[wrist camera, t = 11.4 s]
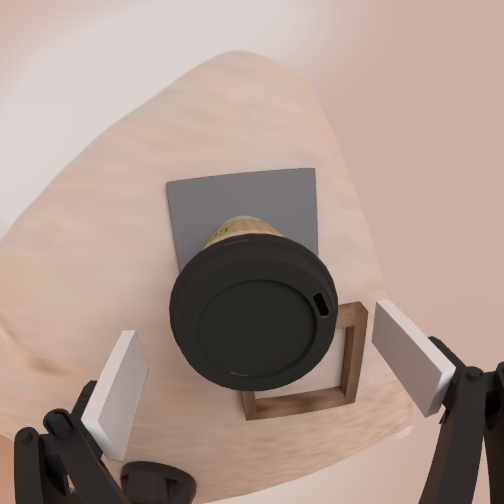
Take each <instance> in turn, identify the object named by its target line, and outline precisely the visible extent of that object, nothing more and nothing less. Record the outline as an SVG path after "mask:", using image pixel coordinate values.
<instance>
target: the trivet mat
mask: <svg viewBox="0 0 504 504" xmlns="http://www.w3.org/2000/svg"><path fill="white" fill-rule="evenodd" d="M166 185H167V193H168V200H169V207H170V214H171V221H172V228H173V234H174V240H175V246H176V252H177V258H178V264H179V269H180V273H181V271H182V270H183V268H184V267H185V265H186V264H187V263H188V262H189V261H190V260H191V259H192V258H193V257H194V256H195V255H196V254H197V253H199V252H200V251H201V250H202V249H203V247H204V246H205V244H206V243H207V242H208V240H209V239H210V237H211V236H212V234H213V233H214V232H215V231H216V230H217V229H218V228H219V227H220V226H221V225H222V224H223V223H224V222H226V221H227V220H229V219H231V218H234V217H237V216H251V217H255V218H257V219H260V220H261V221H263V222H265V223H267V224H269V225H270V226H271V227H273V228H274V229H276V230H277V231H278V232H280V233H281V234H282V235H284V236H285V237H286V238H288V239H291V240H293V241H295V242H298V243H300V244H302V245H303V246H305V247H306V248H307V249H309V250H310V251H312V252H313V253H314V254H316V256H317V257H318V225H317V198H316V177H315V168H300V169H284V170H271V171H259V172H247V173H237V174H227V175H218V176H209V177H201V178H193V179H185V180H178V181H171V182H167V183H166Z"/></svg>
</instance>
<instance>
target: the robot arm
mask: <svg viewBox="0 0 504 504" xmlns="http://www.w3.org/2000/svg"><path fill="white" fill-rule="evenodd" d="M372 343H373V344H374V346H375V347H376V348H377V350H378V351H379V352H380V354H381V355H382V357H383V358H384V359H385V361H386V362H387V364H388V365H389V366H390V368H391V369H392V371H393V372H394V373H395V375H396V376H397V378H398V379H399V380H400V382H401V383H402V385H403V386H404V388H405V389H406V390H407V392H408V393H409V395H410V396H411V398H412V399H413V401H414V402H415V403H416V405H417V406H418V408H419V409H420V411H421V412H422V414H423V415H424V417H425V418H426V417H428V416H430V415H433V414H435V413H437V412H438V411H439V409H440V407H441V405H442V404H443V405H444V406H445V408H446V410H445V412H444V414H443V416H442V418H441V420H440V423H439V424H441V423H442V425H441V429H440V434H439V438H438V442H437V446H436V450H435V454H434V457H433V461H432V465H431V468H430V471H429V474H428V477H427V481H426V484H425V487H424V489H423V492H422V495H421V498H420V501H419V503H418V504H472V500H473V495H474V491H475V486H476V481H477V475H478V469H479V464H480V457H481V450H482V441H483V436H484V441H485V448H486V456H487V464H488V474H489V484H490V504H504V362H501V363H499V364H498V366H497V368H496V371H493V372H486V373H484V372H483V371H482V370H481V369H479V368H477V367H474V366H470V367H469V366H468V367H466V366H465V364H463V362H462V361H461V360H460V359H459V358H458V357H457V356H456V355H455V354H454V353H453V352H451V350H450V349H449V348H447V347H446V345H445V344H444V343H443V342H442V341H441V340H439V339H437V338H435V337H433V336H431V337H426V336H425V335H424V334H423V333H422V332H421V331H420V330H419V329H418V328H417V327H416V326H415V325H414V324H413V323H412V322H411V321H410V320H409V319H408V318H407V317H406V316H405V315H404V314H403V313H402V312H401V311H400V310H399V309H398V308H397V307H396V306H395V305H394V304H393V303H392V302H391V301H390V300H389V299H384V300H379V301H376V309H375V318H374V327H373V334H372ZM147 373H148V367H147V364H146V361H145V358H144V355H143V352H142V349H141V346H140V343H139V340H138V336H137V333H136V330H125V331H122V333H121V335H120V337H119V339H118V341H117V343H116V345H115V347H114V349H113V351H112V353H111V355H110V357H109V359H108V361H107V363H106V365H105V367H104V369H103V371H102V374H101V376H100V378H99V380H98V381H92V380H91V381H90V382H89V383H88V384H87V385H85V386H84V388H83V390H82V392H81V394H80V396H79V398H78V400H77V402H76V404H75V406H74V408H73V410H72V413H71V415H70V414H69V412H68V411H67V410H65V409H54V410H52V411H50V412H48V413H47V414H46V415H45V417H44V419H43V425H44V427H45V428H46V430H47V431H48V432H49V434H40V435H39V433H38V432H37V431H36V430H35V429H34V428H32V427H25V428H23V429H21V430H20V431H18V433H17V434H16V436H15V441H14V485H15V500H16V504H191V503H192V501H193V499H194V497H195V494H196V482H195V480H194V479H193V478H192V477H191V476H190V475H188V474H187V473H185V472H183V471H181V470H178V469H176V468H173V467H170V466H166V465H162V464H158V463H151V462H132V463H128V464H126V465H124V466H123V467H122V470H121V475H120V482H121V488H122V490H121V489H120V487H119V486H118V484H117V483H116V481H115V480H114V478H113V477H112V475H111V474H110V472H109V471H108V469H107V468H106V466H105V464H104V463H103V461H102V460H101V457H102V453H104V455H105V456H106V457H107V459H108V460H116V461H124V458H125V454H126V450H127V446H128V442H129V438H130V434H131V430H132V426H133V422H134V419H135V415H136V411H137V408H138V404H139V400H140V397H141V393H142V390H143V386H144V383H145V380H146V376H147ZM67 475H69V477H70V479H71V481H72V483H73V485H74V487H75V489H72V488H70V487H69V482H68V477H67Z"/></svg>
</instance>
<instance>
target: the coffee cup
mask: <svg viewBox="0 0 504 504" xmlns="http://www.w3.org/2000/svg"><path fill="white" fill-rule="evenodd" d="M169 313H170V323H171V328H172V331H173V334H174V337H175V340H176V342H177V344H178V345H179V347H180V349H181V351H182V353H183V355H184V356H185V358H186V360H187V361H188V363H189V364H190V365H191V366H192V367H193V368H194V369H195V370H196V371H197V372H198V373H199V374H200V375H202V376H203V377H205V378H206V379H207V380H209V381H211V382H213V383H215V384H217V385H220V386H222V387H226V388H229V389H233V390H240V391H265V390H271V389H276V388H279V387H282V386H285V385H288V384H290V383H292V382H294V381H296V380H298V379H300V378H301V377H303V376H304V375H306V374H307V373H308V372H310V371H311V370H312V369H313V368H314V367H315V366H316V365H317V364H318V363H319V362H320V361H321V360H322V358H323V357H324V355H325V354H326V352H327V351H328V349H329V347H330V345H331V342H332V340H333V337H334V332H335V327H336V321H337V316H338V297H337V293H336V289H335V285H334V282H333V279H332V277H331V275H330V273H329V271H328V269H327V268H326V266H325V265H324V264H323V262H322V261H321V260H320V259H319V258H318V257H317V256H316V254H314V253H313V252H312V251H310V250H309V249H307V248H306V247H305V246H303V245H302V244H300V243H298V242H295V241H293V240H291V239H288V238H286V237H285V236H284V235H282V234H281V233H280V232H278V231H277V230H276V229H274V228H273V227H271V226H270V225H269V224H267V223H265V222H263V221H261V220H260V219H257V218H255V217H251V216H237V217H234V218H231V219H229V220H227V221H226V222H224V223H223V224H222V225H221V226H220V227H219V228H218V229H217V230H216V231H215V232H214V233H213V234H212V236H211V237H210V239H209V240H208V242H207V243H206V244H205V246H204V247H203V249H202V250H201V251H200V252H199V253H197V254H196V255H195V256H194V257H193V258H192V259H191V260H190V261H189V262H188V263H187V264H186V265H185V267H184V268H183V270H182V271H181V273H180V274H179V276H178V277H177V279H176V282H175V284H174V287H173V290H172V292H171V298H170V306H169Z"/></svg>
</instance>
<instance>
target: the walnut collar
mask: <svg viewBox="0 0 504 504" xmlns="http://www.w3.org/2000/svg"><path fill="white" fill-rule="evenodd" d="M367 320H368V311H367V310H366V308H365V307H364V306H363V305H362V303H361V302H355V303H349V304H342V305H338V316H337V321H336V327H335V329H338V328H344V327H347V330H346V341H345V352H344V361H343V370H342V378H341V386H338V387H333V388H328V389H323V390H317V391H312V392H306V393H300V394H294V395H287V396H280V397H273V398H265V399H256V400H255V395H254V391H241V392H242V398H243V404H244V410H245V416H246V421H248V420H257V419H266V418H274V417H281V416H288V415H295V414H301V413H307V412H312V411H318V410H323V409H328V408H333V407H337V406H342V405H346V404H351V403H355V398H356V393H357V388H358V382H359V376H360V370H361V364H362V358H363V351H364V344H365V336H366V328H367Z"/></svg>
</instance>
